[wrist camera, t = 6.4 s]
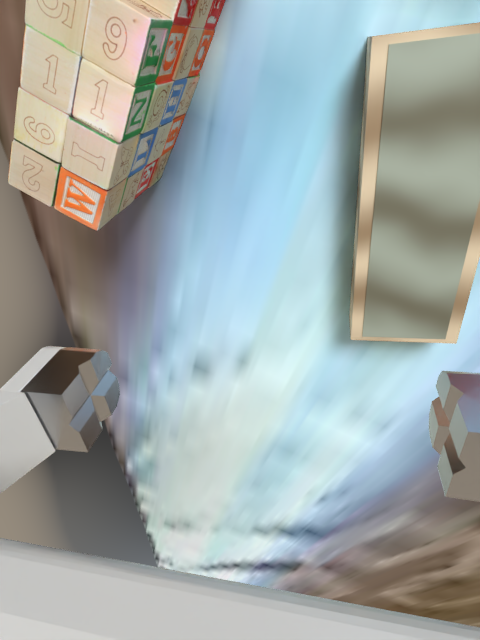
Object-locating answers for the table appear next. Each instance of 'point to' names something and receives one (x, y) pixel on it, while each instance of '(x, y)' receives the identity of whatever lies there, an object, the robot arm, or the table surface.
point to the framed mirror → (417, 186)
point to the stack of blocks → (104, 98)
